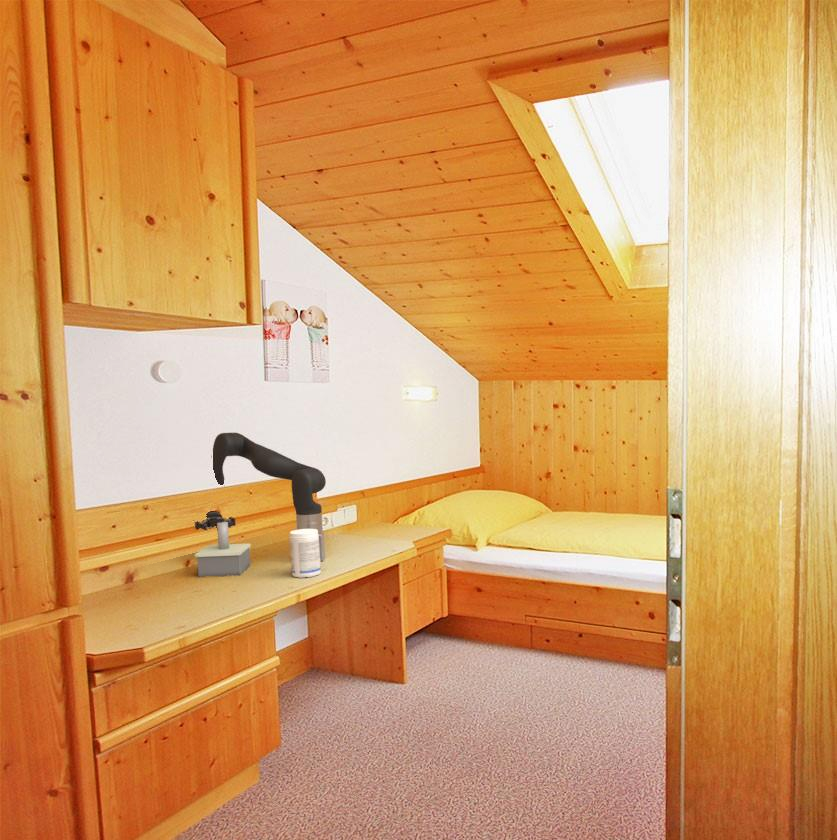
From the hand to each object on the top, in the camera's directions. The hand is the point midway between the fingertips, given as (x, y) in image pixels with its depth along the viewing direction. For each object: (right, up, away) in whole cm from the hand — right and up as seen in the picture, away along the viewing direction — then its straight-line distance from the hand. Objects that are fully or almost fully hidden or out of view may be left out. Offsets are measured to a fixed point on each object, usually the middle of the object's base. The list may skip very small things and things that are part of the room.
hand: (217, 526), depth 259 cm
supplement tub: (+35, -13, -20) cm, 43 cm away
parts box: (+5, -14, -10) cm, 18 cm away
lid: (+5, -7, -10) cm, 13 cm away
